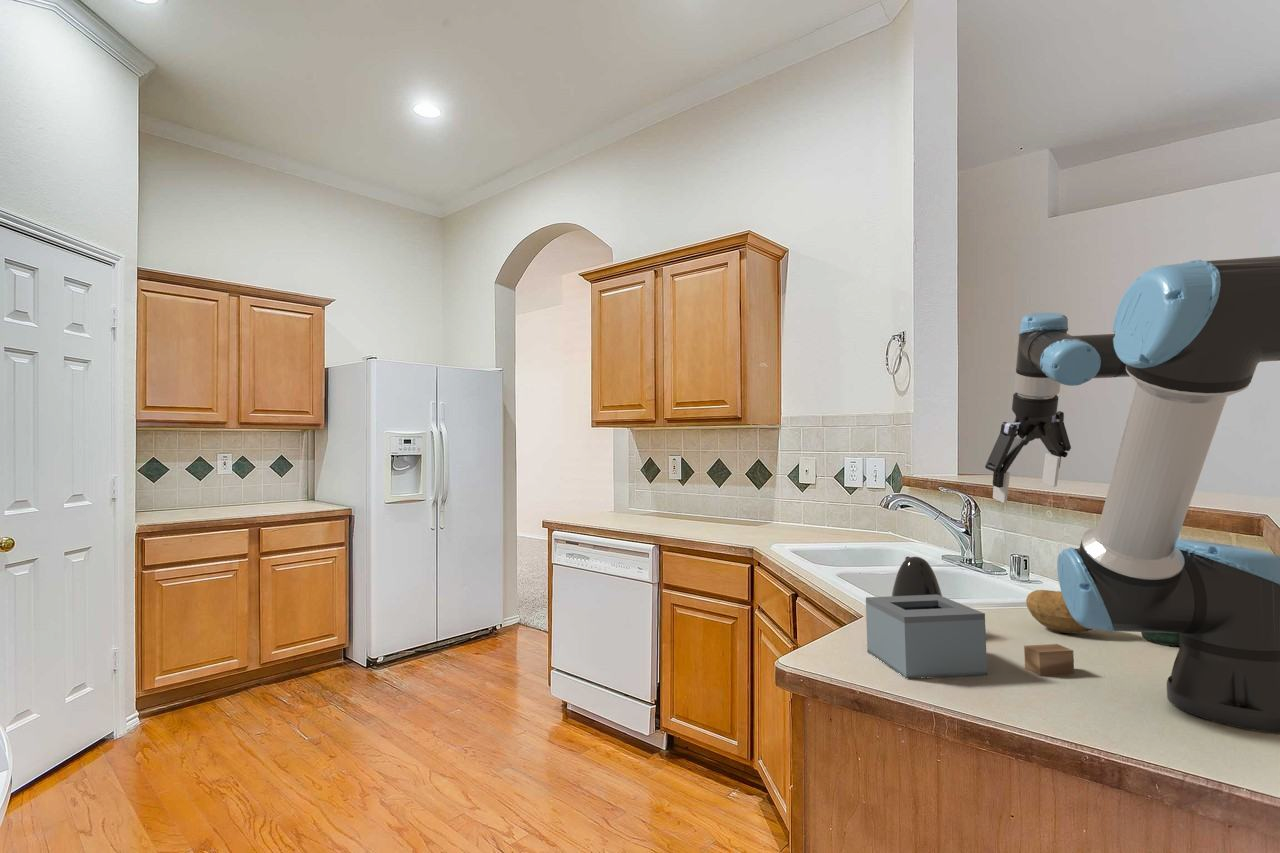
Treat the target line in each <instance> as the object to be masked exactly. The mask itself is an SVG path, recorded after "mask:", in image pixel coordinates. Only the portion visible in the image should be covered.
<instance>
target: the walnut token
mask: <svg viewBox="0 0 1280 853" xmlns="http://www.w3.org/2000/svg"><path fill="white" fill-rule="evenodd" d="M1023 650H1024V651H1023V652H1024V669H1025V670H1026V671H1029V672H1030V673H1033V674H1035V675H1037V676H1039V677H1049V676H1065V675H1067V676H1069V675H1070V676H1071V675H1075V664H1074V663H1075V662H1074V650H1073V649H1071V648H1069V647H1066V646H1063V645H1060V644H1058V643H1050V644H1049V643H1048V644H1033V645H1023Z"/></svg>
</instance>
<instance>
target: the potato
mask: <svg viewBox="0 0 1280 853" xmlns="http://www.w3.org/2000/svg"><path fill="white" fill-rule="evenodd" d="M1025 601H1026V602H1025V603H1026V607H1027V609H1028V612H1030V614H1031V615H1032V617H1033V618H1034V619H1035V620H1036V621H1037V622H1038V623H1039V624H1041V625H1042V626H1043V627H1046V628H1048V629H1050V630H1054V631H1056V632H1059V633H1066V634H1077V633H1083V632H1090V631H1093V630H1094V629H1089V628H1085V627H1083V626H1081V625H1080V624H1078V623H1077V622H1076V621H1075V620H1074V618H1073V617H1072V615H1071V614H1070V612H1069V610H1068V608H1067V606H1066V604H1065V601H1064V599H1063V596H1062V592H1061V590H1060V591H1059V590H1058V591H1057V590H1048V589H1036V590H1033V591H1031V592H1030V593H1029V594H1028V595H1027V596H1026V599H1025Z"/></svg>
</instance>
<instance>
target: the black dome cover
mask: <svg viewBox="0 0 1280 853" xmlns="http://www.w3.org/2000/svg"><path fill="white" fill-rule="evenodd" d="M898 568H899V569H898V571H897V573H896V577H895V580H894V582H893V583H894V584H893V588H892V592H891V593H892V594H891V596H912V595H936V594H937V595H940V596H942V597H943V594H942V591H941V587H940V584H939V582H938V579H937V577H936V574H935V571H934V569H933V567H932V566H931V565H930V564H929V562H928V561H927V560H925V559H924V558H923V557H921V556H911V557H910V556H906V557H905V558H904V560H903V562H902V564H901V565H900V567H898Z"/></svg>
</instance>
